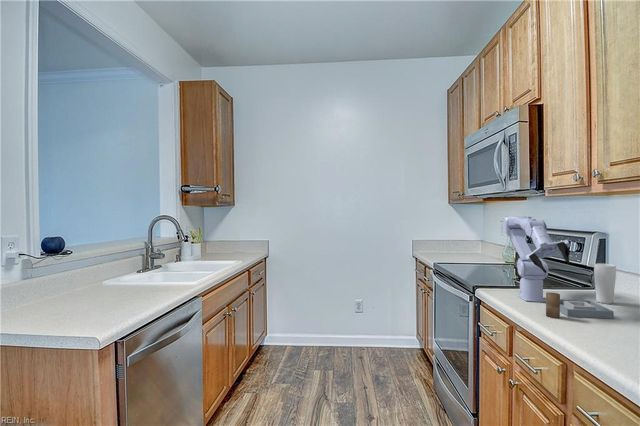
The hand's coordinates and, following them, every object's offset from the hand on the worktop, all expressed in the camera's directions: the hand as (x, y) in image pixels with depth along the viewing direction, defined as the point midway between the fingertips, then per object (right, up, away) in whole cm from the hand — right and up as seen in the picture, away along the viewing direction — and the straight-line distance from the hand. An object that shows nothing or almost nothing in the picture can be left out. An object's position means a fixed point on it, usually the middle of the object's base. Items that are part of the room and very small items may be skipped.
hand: (555, 266), depth 122 cm
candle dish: (+12, -17, +5) cm, 22 cm away
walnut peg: (-1, -17, -1) cm, 17 cm away
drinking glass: (+31, -17, +17) cm, 39 cm away
